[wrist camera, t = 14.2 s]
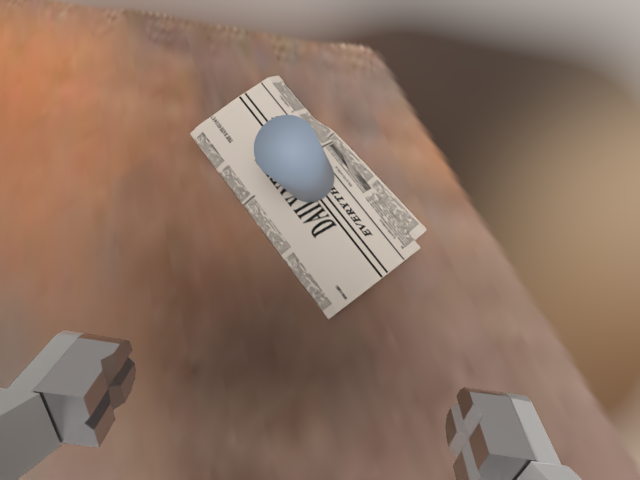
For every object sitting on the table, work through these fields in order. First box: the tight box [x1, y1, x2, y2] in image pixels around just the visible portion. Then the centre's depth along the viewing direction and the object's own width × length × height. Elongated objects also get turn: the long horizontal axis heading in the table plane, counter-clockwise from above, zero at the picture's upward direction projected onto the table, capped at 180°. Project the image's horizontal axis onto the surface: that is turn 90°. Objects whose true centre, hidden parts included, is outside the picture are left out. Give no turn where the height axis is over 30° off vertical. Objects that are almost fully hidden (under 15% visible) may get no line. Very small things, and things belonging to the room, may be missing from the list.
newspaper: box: [190, 76, 427, 319], centre depth 36 cm, size 23×12×2 cm, turn 37°
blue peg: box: [254, 115, 334, 202], centre depth 30 cm, size 4×4×9 cm
